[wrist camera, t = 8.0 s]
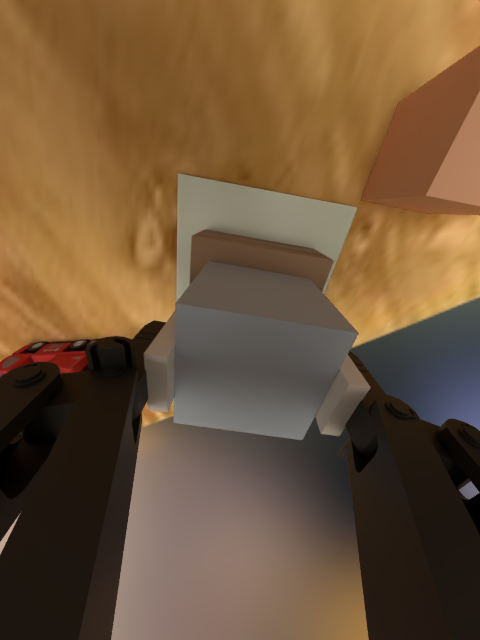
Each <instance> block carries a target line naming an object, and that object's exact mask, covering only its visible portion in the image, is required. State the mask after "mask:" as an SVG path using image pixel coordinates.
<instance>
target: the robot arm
mask: <svg viewBox="0 0 480 640" xmlns="http://www.w3.org/2000/svg"><path fill="white" fill-rule="evenodd" d="M84 350H85V354H86V358H87V362H88V366H89V370H90V371H84V372H72V373H61V371H60V368H59V367H58V366H57V365H56V364H55V363H51V362H34V363H29V364H25V365H22V366H20V367H17V368H14V369H12V370H11V371H9V372H7V373H6V374H4V375H2V376H1V377H0V541H1V540H2V538H3V537H4V536H5V534H6V533H7V531H8V530H9V528H10V527H11V525H12V524H13V523H14V521H15V520H16V518H17V517H18V515H19V514H20V515H19V517H18V520H17V522H16V524H15V526H14V528H13V530H12V532H11V534H10V536H9V538H8V541H7V542H6V544H5V546H4V549H3V551H2V553H1V555H0V640H111V635H112V628H113V621H114V613H115V607H116V600H117V593H118V586H119V579H120V572H121V565H122V558H123V550H124V544H125V537H126V529H127V523H128V516H129V509H130V502H131V495H132V488H133V481H134V473H135V466H136V459H137V452H138V445H139V438H140V431H141V424H142V410H143V408H144V406H145V404H146V402H147V403H148V410H152V411H159V412H167V413H168V411H169V409H170V406H171V403H172V401H173V398H174V376H175V312H174V313H173V314H172V316H171V317H170V318H169V320H168V321H167V322H160V321H152V322H150V323H148V324H147V325H145V326H144V327H143V328H142V329H141V330H140V331H139V333H138V334H137V335H136V336H135V338H133V339H132V340H131V339H128V338H126V337H119V336H113V337H106V338H102V339H99V340H96V341H94V342H93V343H91V344H89V345H88V346H87V347H86V348H85V349H84ZM315 417H316V420H317V423H318V426H319V429H320V432H321V433H322V434H328V435H336V436H340V434H341V433H342V431H343V429H344V428H345V426H346V428H347V431H348V433H349V435H350V437H349V438H348V440H347V441H346V443H345V444H344V446H343V447H342V449H341V450H340V451H339V455H338V458H342V457H343V455H344V454H345V453H346V451H347V458H346V459H345V460H346V461H348V468H349V475H350V485H351V492H352V501H353V510H354V518H355V526H356V535H357V544H358V552H359V561H360V569H361V577H362V586H363V594H364V603H365V611H366V620H367V628H368V637H369V640H480V493H479V494H477V495H476V496H474V497H473V498H471V499H469V500H468V499H467V498H465V497H464V496H463V495H462V494H461V493H460V491H459V489H461V488H462V487H463V486H465V485H466V484H467V483H469V482H470V481H472V483H473V484H474V485H475V487H476V488H477V489H478V491H479V492H480V431H479V430H478V429H477V428H475V427H473V426H471V425H469V424H467V423H465V422H462V421H459V420H456V419H448V420H447V421H446V422H445V423H444V424H443V425H442V426H441V427H439V426H436V425H434V424H431V423H429V422H426V421H423V420H421V419H420V418H419V416H418V415H417V414H416V412H415V411H414V410H413V409H412V408H411V407H410V406H409V405H407V404H405V403H404V402H403V401H401V400H400V399H397V398H395V397H393V396H389V395H386V394H385V392H384V391H383V390H382V388H381V387H380V386H379V384H378V383H377V382H376V380H375V379H374V378H373V377H372V375H371V374H370V373H369V371H368V370H367V369H366V367H364V365H363V363H362V362H361V361H360V359H359V358H358V357H357V356H356V355H354V354H353V353H352V352H350V351H349V353H348V354H347V356H346V358H345V360H344V362H343V364H342V366H341V368H340V370H339V371H338V373H337V375H336V377H335V379H334V381H333V383H332V385H331V387H330V388H329V390H328V392H327V394H326V396H325V398H324V400H323V402H322V404H321V405H320V407H319V409H318V411H317V413H316V415H315Z"/></svg>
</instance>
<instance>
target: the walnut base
mask: <svg viewBox="0 0 480 640" xmlns="http://www.w3.org/2000/svg"><path fill="white" fill-rule="evenodd" d="M208 261H212V262H218V263H223V264H229V265H235V266H241V267H246V268H252V269H258V270H263V271H269V272H275V273H280V274H286V275H292V276H297V277H303V278H309V279H311V280H312V282H313V283H314V284H315V285H316V286H317V287H318V288H319V289H320V291H321V292H322V291H323V288H324V286H325V283H326V280H327V278H328V275H329V273H330V270H331V267H332V265H333V262H334V260H332V259H330V258H329V257H327V256H325V255H324V254H322V253H320V252H319V251H317V250H315V249H313V248H307V247H302V246H296V245H291V244H285V243H279V242H274V241H268V240H262V239H257V238H251V237H246V236H240V235H234V234H229V233H223V232H217V231H212V230H206V229H205V230H203V231H200V232H198V233H196V234H194V235H192V238H191V261H190V284H191V283H192V281H193V280H194V279H195V277H196V276H197V275H198V274H199V272H200V271H201V270H202V268H203V267H204V266H205V264H206V263H207V262H208ZM190 284H189V285H190Z"/></svg>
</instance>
